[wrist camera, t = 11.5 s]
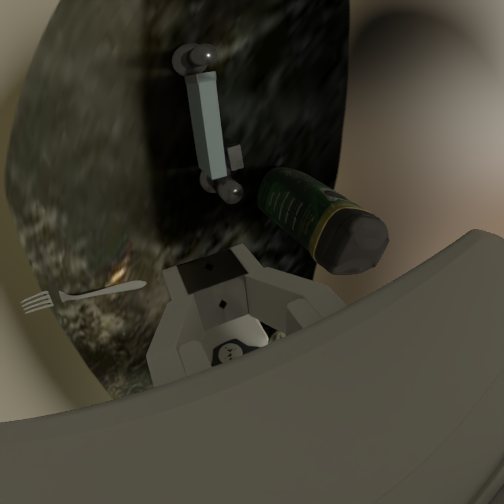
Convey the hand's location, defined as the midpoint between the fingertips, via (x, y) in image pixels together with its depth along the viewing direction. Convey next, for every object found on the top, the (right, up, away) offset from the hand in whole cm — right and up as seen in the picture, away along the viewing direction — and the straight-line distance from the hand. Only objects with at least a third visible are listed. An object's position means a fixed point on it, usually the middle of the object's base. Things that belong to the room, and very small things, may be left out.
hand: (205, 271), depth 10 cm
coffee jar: (+6, +10, +34) cm, 36 cm away
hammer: (-3, +12, +27) cm, 29 cm away
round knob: (-6, +23, +17) cm, 29 cm away
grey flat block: (-5, +17, +22) cm, 28 cm away
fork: (-23, -5, +28) cm, 36 cm away
